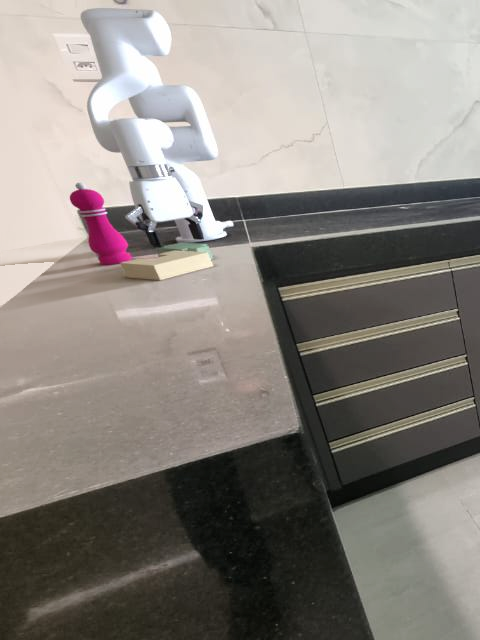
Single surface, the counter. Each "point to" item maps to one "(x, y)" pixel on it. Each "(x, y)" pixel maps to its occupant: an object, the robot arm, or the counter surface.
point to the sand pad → (167, 265)
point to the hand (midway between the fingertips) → (179, 243)
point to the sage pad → (186, 248)
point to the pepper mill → (100, 227)
